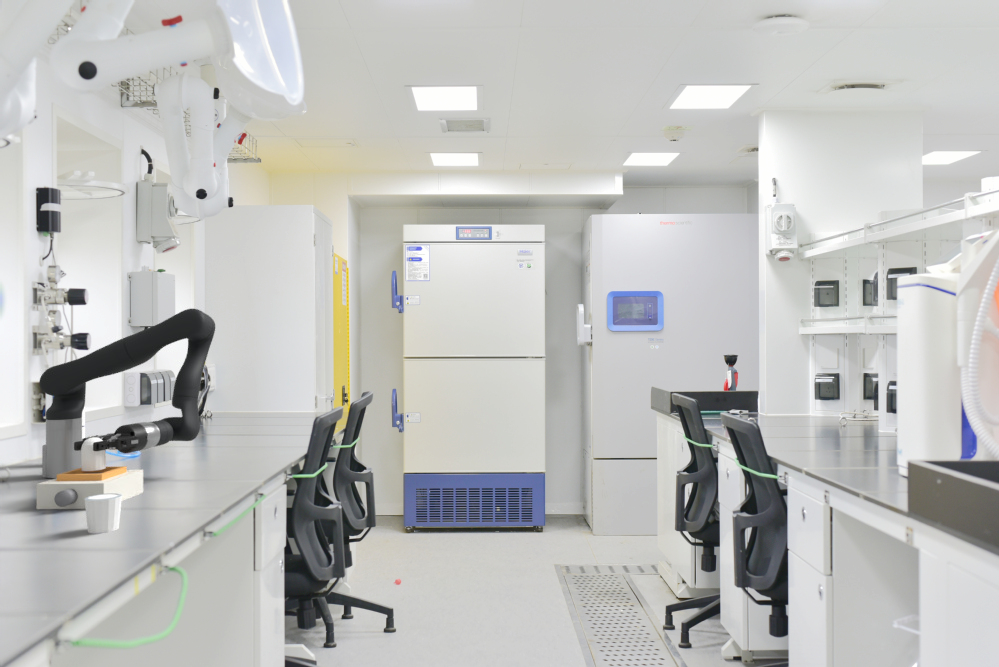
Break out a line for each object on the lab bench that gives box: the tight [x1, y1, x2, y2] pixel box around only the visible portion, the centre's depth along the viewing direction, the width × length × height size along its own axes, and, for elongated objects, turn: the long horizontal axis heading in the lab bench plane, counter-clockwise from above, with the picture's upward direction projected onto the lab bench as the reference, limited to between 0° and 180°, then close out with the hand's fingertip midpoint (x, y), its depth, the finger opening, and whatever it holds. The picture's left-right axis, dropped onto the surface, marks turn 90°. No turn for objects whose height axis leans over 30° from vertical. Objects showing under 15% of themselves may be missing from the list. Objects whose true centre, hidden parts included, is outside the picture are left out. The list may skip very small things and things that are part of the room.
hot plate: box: [36, 466, 144, 510], centre depth 170 cm, size 16×21×8 cm
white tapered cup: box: [85, 493, 123, 534], centre depth 144 cm, size 7×7×7 cm
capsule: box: [81, 436, 107, 471], centre depth 172 cm, size 5×5×8 cm
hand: (85, 446), depth 169 cm, fingers closed on capsule, 5 cm apart
